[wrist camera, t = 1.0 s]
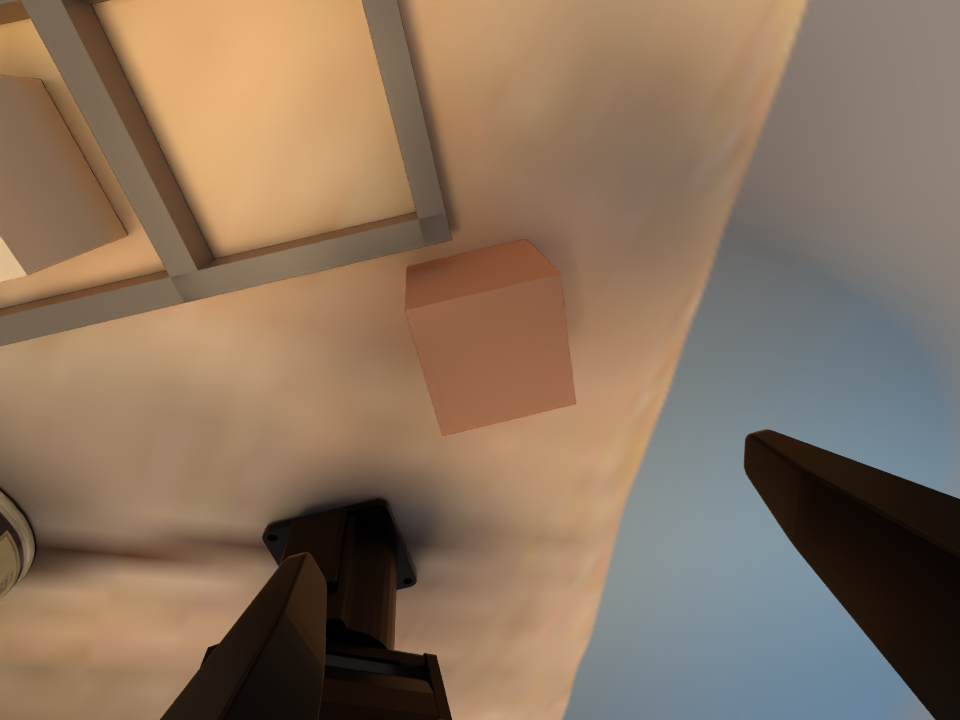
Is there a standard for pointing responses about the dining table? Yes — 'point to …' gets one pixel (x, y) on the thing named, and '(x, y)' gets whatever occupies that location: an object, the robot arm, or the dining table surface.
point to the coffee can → (13, 545)
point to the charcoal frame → (160, 183)
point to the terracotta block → (490, 335)
